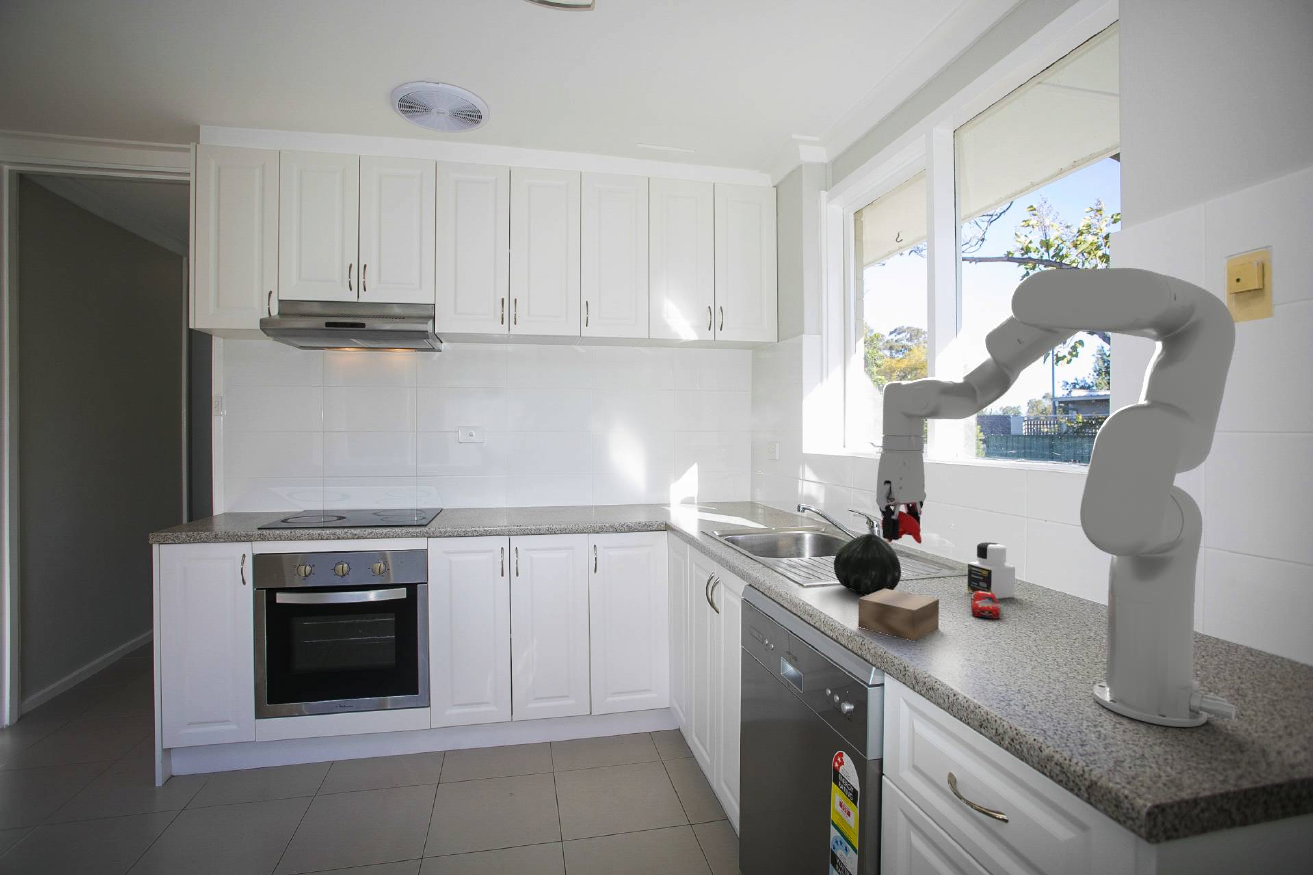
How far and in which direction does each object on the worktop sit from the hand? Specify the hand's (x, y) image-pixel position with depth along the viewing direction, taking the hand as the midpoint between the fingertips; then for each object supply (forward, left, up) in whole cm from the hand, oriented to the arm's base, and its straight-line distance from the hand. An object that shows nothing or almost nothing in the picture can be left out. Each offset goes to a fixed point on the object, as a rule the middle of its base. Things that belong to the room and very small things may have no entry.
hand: (901, 536), depth 124 cm
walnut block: (0, +1, -18) cm, 18 cm away
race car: (-5, -25, -18) cm, 31 cm away
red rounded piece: (0, 0, -1) cm, 1 cm away
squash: (+19, -19, -18) cm, 32 cm away
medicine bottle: (0, -40, -18) cm, 44 cm away
